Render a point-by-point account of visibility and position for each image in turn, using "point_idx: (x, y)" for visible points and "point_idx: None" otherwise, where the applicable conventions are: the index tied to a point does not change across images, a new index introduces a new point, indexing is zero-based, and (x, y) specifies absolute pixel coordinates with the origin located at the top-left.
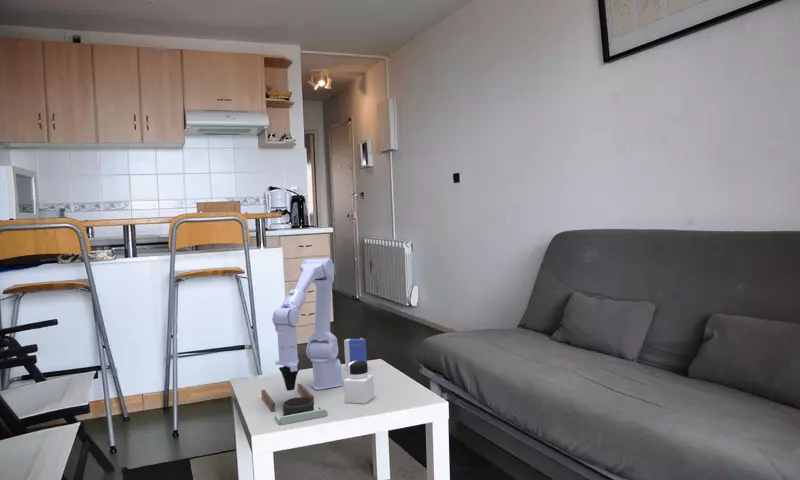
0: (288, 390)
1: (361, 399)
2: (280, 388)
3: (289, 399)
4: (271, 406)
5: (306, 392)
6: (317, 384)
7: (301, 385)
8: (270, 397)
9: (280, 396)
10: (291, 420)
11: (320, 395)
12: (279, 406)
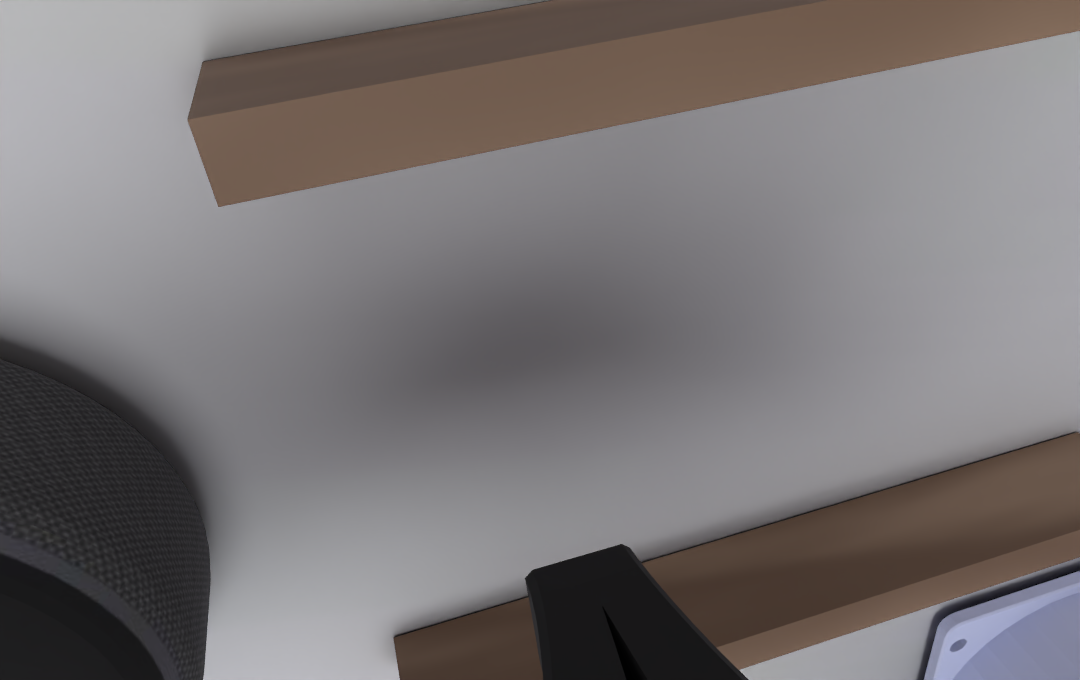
0: (530, 589)
1: None
2: None
3: (5, 603)
4: (214, 90)
5: None
6: (1029, 658)
7: (1061, 556)
8: (750, 94)
9: (1062, 215)
10: None
11: None
12: (526, 213)
